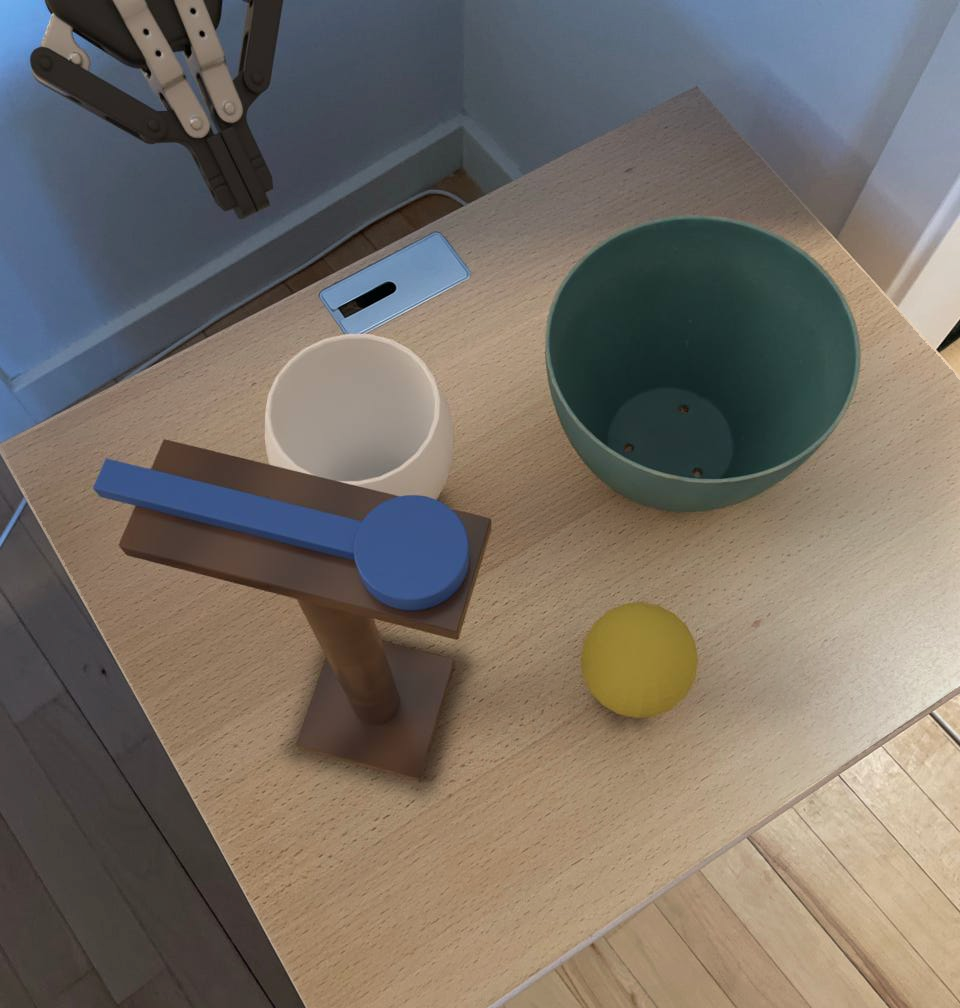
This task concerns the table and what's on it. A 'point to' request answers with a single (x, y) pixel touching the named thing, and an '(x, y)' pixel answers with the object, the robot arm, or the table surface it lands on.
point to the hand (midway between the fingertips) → (254, 211)
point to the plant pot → (699, 360)
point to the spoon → (320, 530)
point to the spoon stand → (322, 607)
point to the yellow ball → (639, 660)
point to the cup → (361, 417)
